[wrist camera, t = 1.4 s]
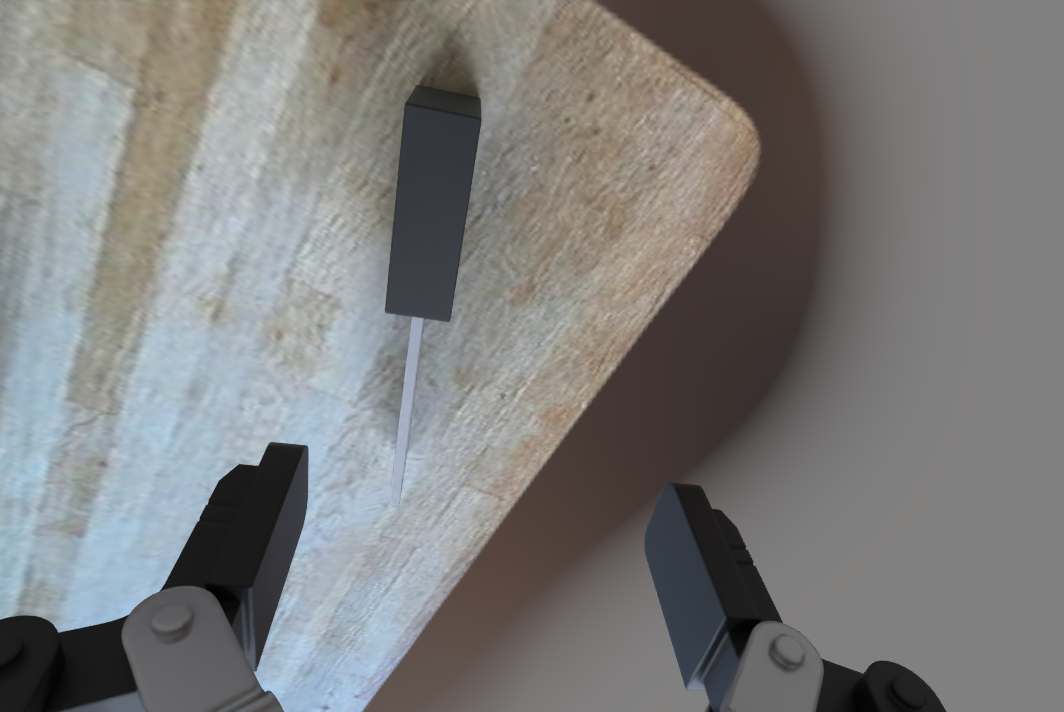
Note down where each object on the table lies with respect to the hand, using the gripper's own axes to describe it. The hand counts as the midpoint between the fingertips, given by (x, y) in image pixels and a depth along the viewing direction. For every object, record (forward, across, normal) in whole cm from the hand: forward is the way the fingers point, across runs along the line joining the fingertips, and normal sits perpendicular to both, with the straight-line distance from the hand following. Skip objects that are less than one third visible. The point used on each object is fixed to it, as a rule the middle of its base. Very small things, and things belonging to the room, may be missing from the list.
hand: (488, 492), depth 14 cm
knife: (+16, +2, +4) cm, 17 cm away
